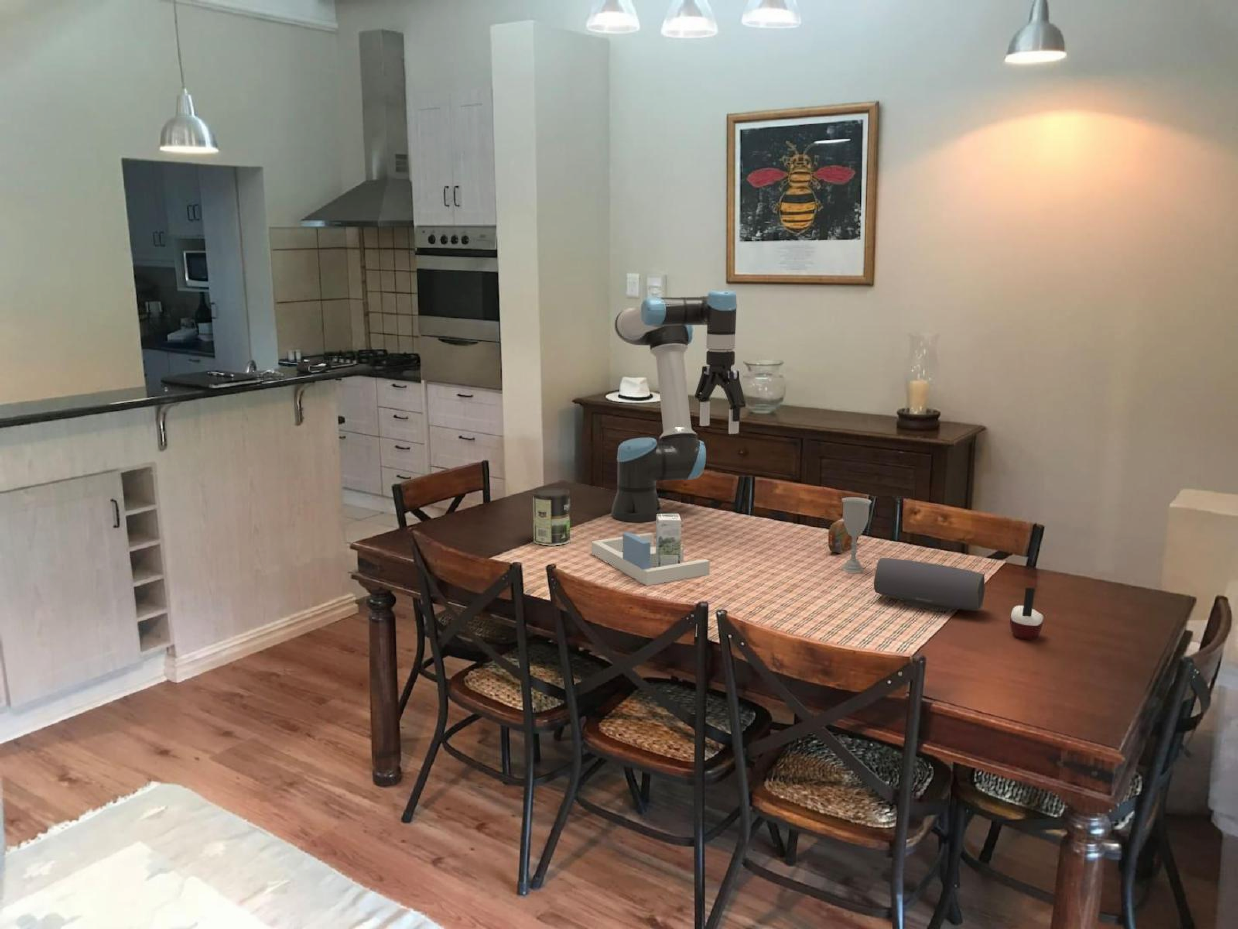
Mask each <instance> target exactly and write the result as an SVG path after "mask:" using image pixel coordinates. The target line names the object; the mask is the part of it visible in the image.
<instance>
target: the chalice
mask: <svg viewBox="0 0 1238 929" xmlns="http://www.w3.org/2000/svg"><path fill="white" fill-rule="evenodd" d="M841 501H842V504H843V506H842V507H843V508H842V509H843V510H842V518H843V521H844V525H845V527H846V530H847V532H848V534H849V535H850V536H852V539H853V540H852V543H851V545H852V548H851V550H849V552H850V554H851V557H850V558H849V559H847V560H846V561H845V563H844V565H843V567H842V571H844V572H845V573H850V574H851V573H852V574H858V573H859V574H860V573H863V571H864V570H863V567H862V564H861V562H860V561H859V560H857V558H856V557H857V556H856V555H857V553H858V551H857V546H858V541H857V542H856V539H857V537H858V538H859V537H861V535H862V534H863V532H864V531H865V529H866V527H867V525H868V522H869V514H870V513H869V512H870V506H871V503H872V501H871V499H868V498H863V497H856V496H855V497H852V496H850V497H843V498H841Z"/></svg>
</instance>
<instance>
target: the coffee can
mask: <svg viewBox="0 0 1238 929" xmlns="http://www.w3.org/2000/svg"><path fill="white" fill-rule="evenodd" d="M570 495H571V491H570V490H569V489H567V488H561V487H544V488H538V489H535V490H533V491H532V507H533V508H532V513H533V514H532V515H533V516H532V517H533V543H534V542H535V543H536V545H538V544H542V545H548V546H547V547H557V546H556V545H560V546H563V545H562V544H565V545H567V544H570V542H571V516H570V514H571V512H570V511H571V509H570V508H571V501H570V500H571V499H570V497H571V496H570ZM569 541H570V542H569ZM535 543H534V544H535ZM542 545H541V546H542Z"/></svg>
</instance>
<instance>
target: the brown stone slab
mask: <svg viewBox="0 0 1238 929" xmlns="http://www.w3.org/2000/svg"><path fill="white" fill-rule="evenodd" d="M827 536H828V538H827V540H828V544H827V545H828V548H829V551H830V552H831V553H836V554H844V553H846V552H847V551H850V549H852V545H851V543H852V540H853V539H852V536H850V535H849V534H848V532H847V530H846V527H845V525H844V521H843V517H842V518H840V519H838V520H836V521H834V522H832V524H830V527H829V529H828V533H827ZM858 540H859V537H857V539H856V542H857V543H858Z"/></svg>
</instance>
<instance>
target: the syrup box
mask: <svg viewBox="0 0 1238 929" xmlns="http://www.w3.org/2000/svg"><path fill="white" fill-rule="evenodd" d="M655 521H656V524H655V526H656V527H655V528H656V529H655V531H656V532H655V533H656V535H655V536H656V537H655V547H656V566H655V567H661V566H667V565H673V564H679V563H681V562H680V555H681V548H682V519H681V517H680V514H679V513H661V514H657V517H656V520H655Z"/></svg>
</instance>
